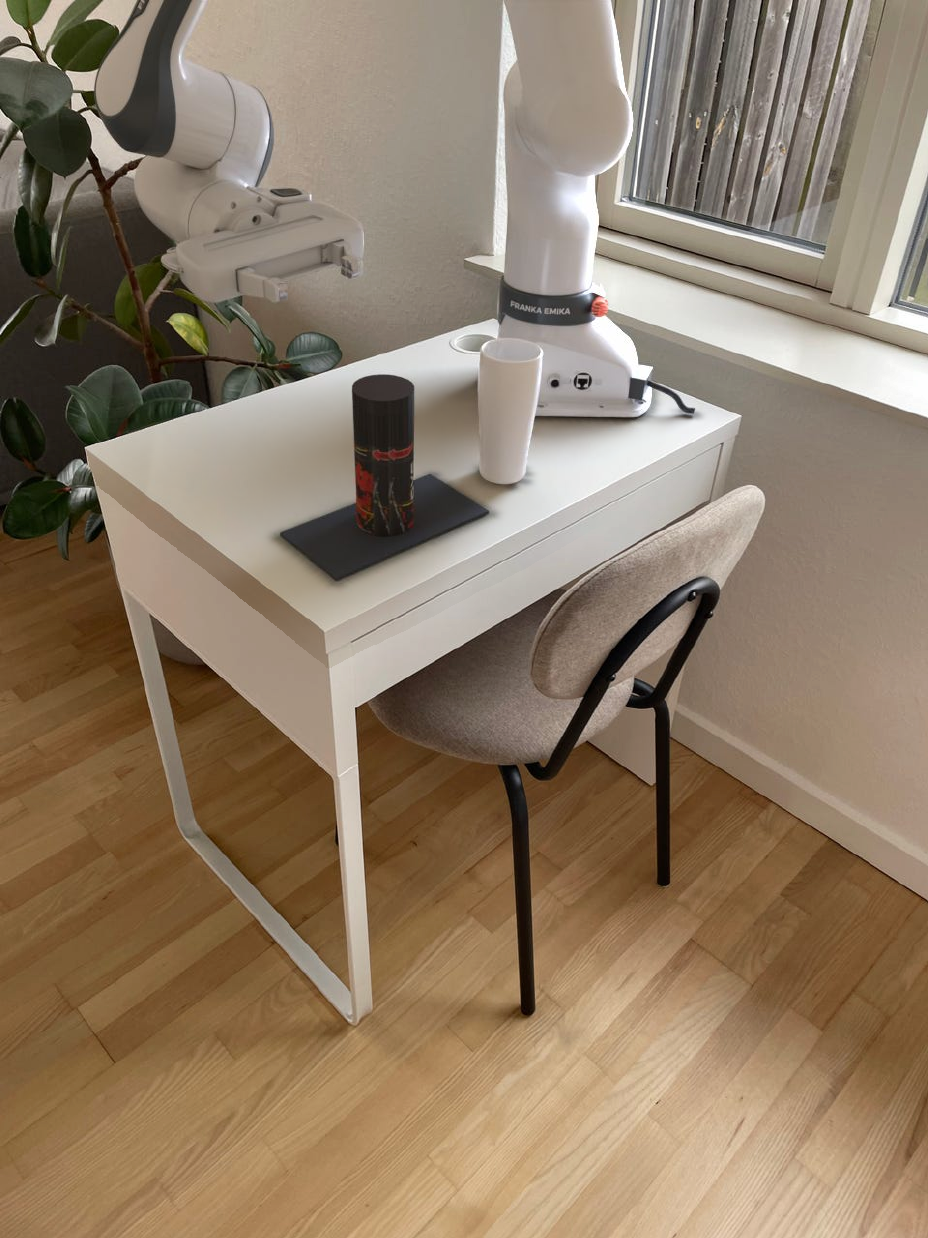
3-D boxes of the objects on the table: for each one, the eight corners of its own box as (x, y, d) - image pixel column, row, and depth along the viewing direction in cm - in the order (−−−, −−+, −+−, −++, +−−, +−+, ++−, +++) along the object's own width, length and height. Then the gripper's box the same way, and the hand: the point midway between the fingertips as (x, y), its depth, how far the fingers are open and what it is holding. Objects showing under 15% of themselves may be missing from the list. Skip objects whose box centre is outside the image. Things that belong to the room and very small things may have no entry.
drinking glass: (526, 493, 104) (539, 366, 95) (467, 485, 105) (473, 358, 96) (535, 464, 109) (547, 341, 100) (478, 457, 110) (485, 333, 101)
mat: (430, 476, 106) (430, 473, 106) (489, 513, 101) (489, 510, 100) (280, 535, 96) (279, 532, 95) (336, 581, 90) (336, 577, 90)
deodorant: (417, 534, 96) (419, 399, 87) (360, 538, 95) (355, 402, 86) (408, 504, 101) (409, 372, 91) (353, 508, 99) (348, 375, 90)
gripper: (147, 224, 91) (228, 276, 85) (315, 184, 102) (398, 227, 96) (156, 286, 96) (234, 340, 89) (316, 241, 107) (396, 286, 100)
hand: (320, 281), depth 92 cm, fingers open, 8 cm apart
